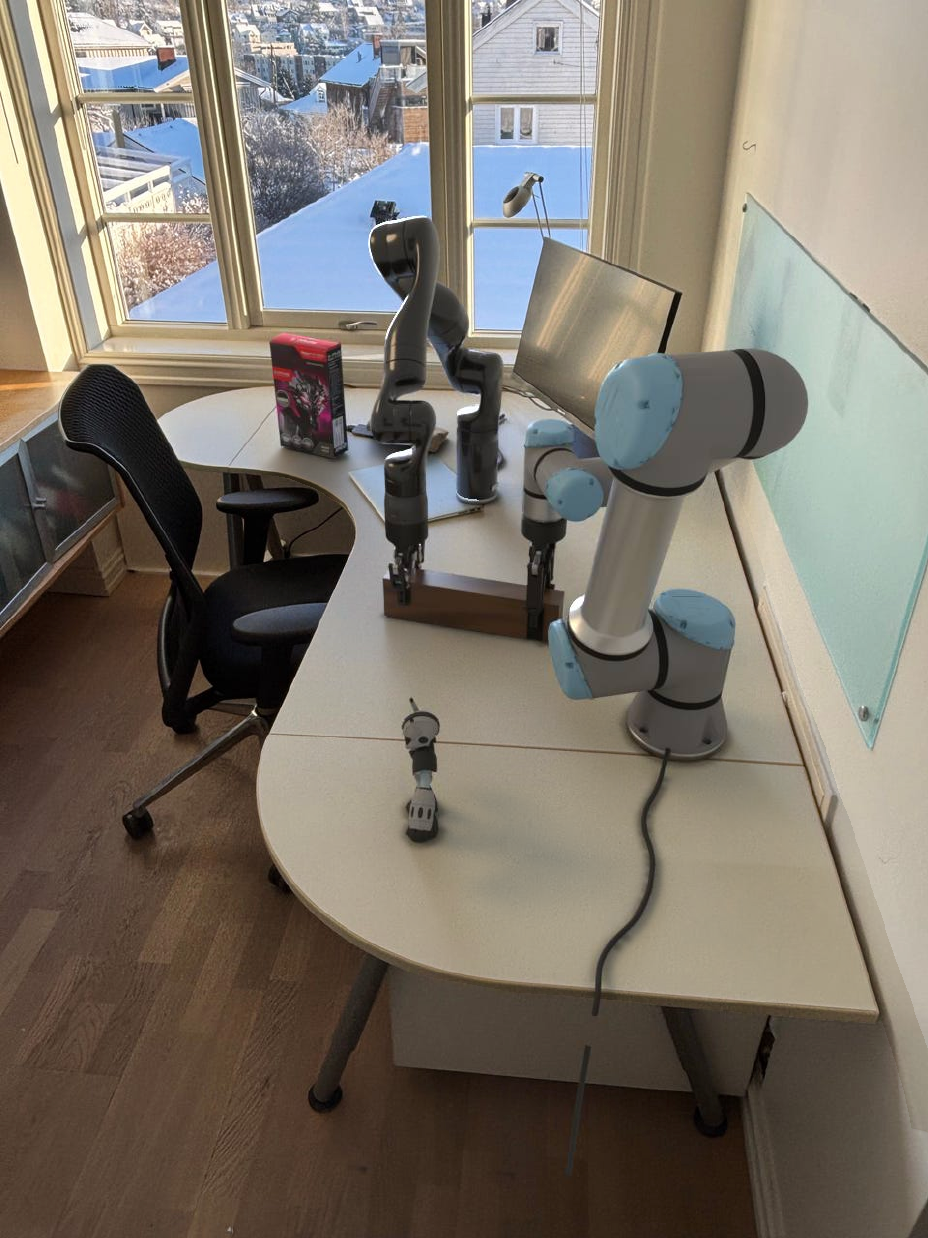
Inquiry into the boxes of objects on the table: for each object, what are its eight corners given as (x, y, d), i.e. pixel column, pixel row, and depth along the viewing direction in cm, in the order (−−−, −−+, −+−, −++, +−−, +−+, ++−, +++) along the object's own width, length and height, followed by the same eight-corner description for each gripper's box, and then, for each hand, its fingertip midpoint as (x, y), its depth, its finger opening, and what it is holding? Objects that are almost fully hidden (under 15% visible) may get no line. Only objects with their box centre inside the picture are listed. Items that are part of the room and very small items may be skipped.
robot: (442, 875, 119) (441, 760, 108) (404, 877, 119) (400, 761, 107) (438, 770, 135) (437, 660, 124) (405, 771, 135) (401, 661, 124)
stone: (350, 435, 230) (355, 412, 228) (372, 427, 244) (376, 405, 241) (428, 460, 227) (434, 436, 224) (446, 450, 240) (451, 427, 238)
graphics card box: (278, 447, 232) (266, 338, 217) (294, 437, 237) (284, 331, 222) (334, 460, 225) (326, 350, 210) (350, 450, 230) (343, 341, 215)
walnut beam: (556, 643, 162) (559, 605, 157) (384, 615, 169) (382, 578, 164) (561, 628, 166) (564, 590, 161) (393, 601, 173) (391, 564, 168)
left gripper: (414, 535, 152) (416, 620, 161) (439, 497, 164) (439, 579, 173) (371, 529, 154) (376, 614, 163) (399, 492, 165) (401, 574, 175)
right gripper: (557, 542, 143) (548, 662, 156) (576, 492, 158) (566, 606, 171) (510, 535, 145) (505, 655, 158) (533, 487, 160) (527, 600, 173)
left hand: (408, 595), depth 168 cm, fingers closed on walnut beam, 5 cm apart
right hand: (537, 629), depth 164 cm, fingers closed on walnut beam, 5 cm apart
